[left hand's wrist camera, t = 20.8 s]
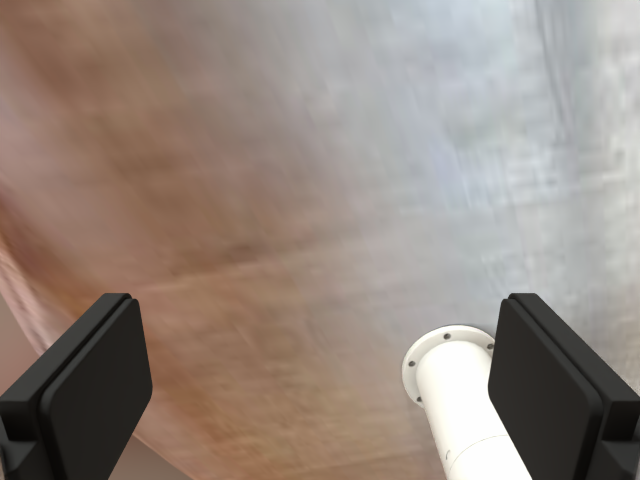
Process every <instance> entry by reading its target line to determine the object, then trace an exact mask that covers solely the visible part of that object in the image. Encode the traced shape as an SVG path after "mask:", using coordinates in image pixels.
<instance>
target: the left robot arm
mask: <svg viewBox="0 0 640 480" xmlns="http://www.w3.org/2000/svg"><path fill="white" fill-rule="evenodd" d="M402 379H403V383H404V387H405V389H406V391H407V393H408V395H409V396H410V397H411V399H412V400H413V401H414V402H415V403H416V404H418V405H419V406H420V407H422V408H424V409H425V411H426V415H427V418H428V421H429V424H430V427H431V430H432V433H433V437H434V440H435V443H436V446H437V449H438V452H439V456H440V459H441V462H442V465H443V468H444V471H445V474H446V478H447V480H640V397H639V396H638V395H637V394H636V393H635V392H634V391H633V390H632V389H631V388H630V387H629V386H628V385H627V384H626V383H625V382H624V381H623V380H622V379H621V378H620V377H619V376H618V375H617V374H616V373H615V372H614V371H613V370H612V369H611V368H610V367H609V366H608V365H607V364H606V363H605V362H604V361H603V360H602V359H601V358H600V357H599V356H598V355H597V354H596V353H595V352H594V351H593V350H592V349H591V348H590V347H589V346H588V345H587V344H586V343H585V342H584V341H583V340H582V339H581V338H580V337H579V336H578V335H577V334H576V333H575V332H574V331H573V330H572V329H571V328H570V327H569V326H568V325H567V324H566V323H565V322H564V321H563V320H562V319H561V318H560V317H559V316H558V315H557V314H556V313H555V312H554V311H553V310H552V309H551V308H550V307H549V306H548V305H547V304H546V303H545V302H544V301H543V300H542V299H541V298H540V297H539V296H538V295H537V294H535V293H511V294H510V295H509V297H508V299H503V300H502V302H501V307H500V313H499V319H498V325H497V331H496V337H495V340H494V339H493V338H492V337H491V336H490V335H488V334H487V333H485V332H483V331H482V330H479V329H476V328H473V327H469V326H462V325H457V326H447V327H442V328H439V329H436V330H433V331H431V332H429V333H427V334H426V335H424V336H422V337H421V338H420V339H419V340H417V341H416V342H415V343H414V344H413V345H412V347H411V348H410V349H409V351H408V352H407V354H406V356H405V358H404V361H403V364H402ZM151 395H152V379H151V373H150V367H149V361H148V355H147V349H146V343H145V337H144V331H143V325H142V319H141V313H140V307H139V302H138V300H137V299H132V297H131V295H130V294H129V293H105V294H103V295H102V296H101V297H100V298H99V299H98V300H97V301H96V302H95V303H94V304H93V305H92V306H91V307H90V308H89V309H88V310H87V311H86V312H85V313H84V314H83V315H82V316H81V317H80V318H79V319H78V320H77V321H76V322H75V323H74V324H73V325H72V326H71V327H70V328H69V329H68V330H67V331H66V332H65V333H64V334H63V335H62V336H61V337H60V338H59V339H58V340H57V341H56V342H55V343H54V344H53V345H52V346H51V347H50V348H49V349H48V350H47V351H46V352H45V353H44V354H43V355H42V356H41V357H40V358H39V359H38V360H37V361H36V362H35V363H34V364H33V365H32V366H31V367H30V368H29V369H28V370H27V371H26V372H25V373H24V374H23V375H22V376H21V377H20V378H19V379H18V380H17V381H16V382H15V383H14V384H13V385H12V386H11V387H10V388H9V389H8V390H7V391H6V392H5V393H4V394H3V395H2V396H1V397H0V480H108V478H109V476H110V474H111V473H112V471H113V469H114V467H115V465H116V463H117V461H118V459H119V457H120V456H121V454H122V452H123V450H124V448H125V446H126V444H127V442H128V441H129V439H130V437H131V435H132V433H133V431H134V429H135V427H136V425H137V424H138V422H139V420H140V418H141V416H142V414H143V412H144V410H145V408H146V407H147V405H148V403H149V401H150V399H151Z"/></svg>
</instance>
